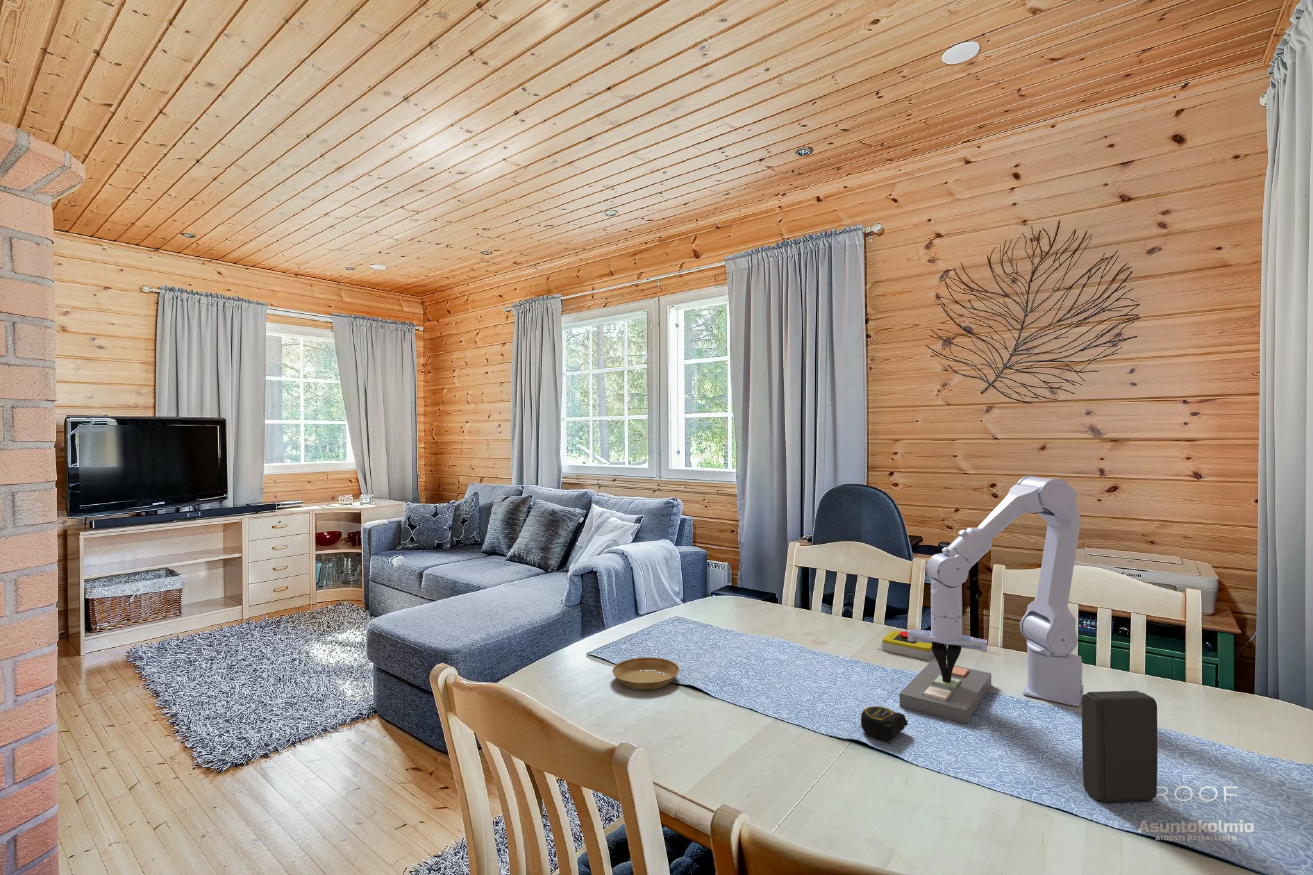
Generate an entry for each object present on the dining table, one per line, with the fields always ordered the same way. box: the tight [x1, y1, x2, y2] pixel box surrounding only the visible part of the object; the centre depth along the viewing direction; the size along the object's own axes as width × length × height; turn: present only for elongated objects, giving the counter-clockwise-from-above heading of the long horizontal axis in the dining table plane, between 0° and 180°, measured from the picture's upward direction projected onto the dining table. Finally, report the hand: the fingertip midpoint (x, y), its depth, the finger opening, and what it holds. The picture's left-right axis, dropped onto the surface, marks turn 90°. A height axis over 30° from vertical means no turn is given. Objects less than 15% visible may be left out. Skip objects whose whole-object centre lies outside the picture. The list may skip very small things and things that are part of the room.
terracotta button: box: [952, 666, 968, 678], centre depth 132 cm, size 4×4×2 cm
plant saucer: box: [611, 657, 681, 691], centre depth 136 cm, size 15×15×3 cm
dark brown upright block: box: [1081, 690, 1158, 803], centre depth 91 cm, size 9×4×15 cm, turn 92°
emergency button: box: [875, 630, 937, 662], centre depth 153 cm, size 9×4×15 cm
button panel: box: [898, 661, 992, 724], centre depth 126 cm, size 12×22×2 cm, turn 141°
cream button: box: [924, 686, 951, 701], centre depth 121 cm, size 4×4×2 cm
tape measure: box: [860, 705, 909, 741], centre depth 111 cm, size 7×7×4 cm
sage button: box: [934, 675, 960, 689], centre depth 126 cm, size 4×4×2 cm
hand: (946, 680), depth 126 cm, fingers closed, pressing on sage button
